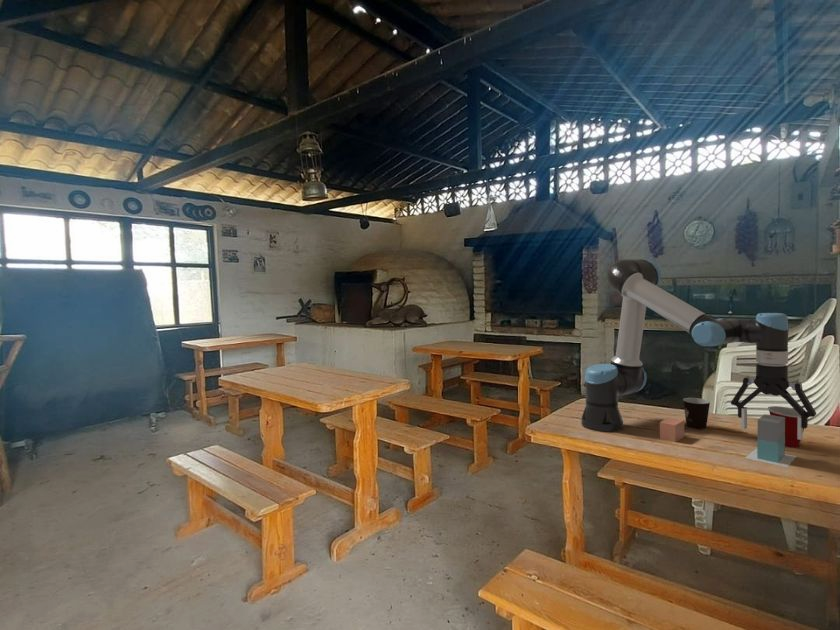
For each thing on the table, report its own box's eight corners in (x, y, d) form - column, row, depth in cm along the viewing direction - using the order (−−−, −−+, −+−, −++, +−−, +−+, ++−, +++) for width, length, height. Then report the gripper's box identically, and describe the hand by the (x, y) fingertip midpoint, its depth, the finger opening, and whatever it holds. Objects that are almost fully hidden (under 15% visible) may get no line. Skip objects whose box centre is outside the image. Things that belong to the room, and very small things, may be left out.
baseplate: (745, 459, 135) (745, 457, 135) (756, 449, 142) (756, 447, 142) (786, 469, 127) (786, 467, 127) (796, 458, 135) (796, 456, 134)
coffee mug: (710, 431, 161) (710, 404, 160) (682, 428, 165) (682, 402, 165) (709, 423, 171) (709, 397, 170) (683, 420, 175) (683, 395, 175)
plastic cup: (811, 454, 137) (812, 416, 136) (767, 447, 144) (767, 411, 143) (809, 444, 145) (809, 408, 145) (767, 438, 152) (767, 404, 152)
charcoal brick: (757, 439, 134) (757, 419, 133) (764, 432, 139) (764, 414, 138) (778, 443, 130) (778, 423, 129) (784, 436, 135) (785, 417, 134)
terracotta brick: (659, 438, 156) (659, 422, 155) (669, 433, 161) (669, 417, 160) (675, 442, 152) (675, 425, 151) (684, 436, 157) (684, 420, 156)
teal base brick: (757, 458, 134) (757, 439, 134) (764, 451, 139) (764, 432, 139) (778, 463, 130) (778, 443, 130) (784, 455, 135) (784, 436, 135)
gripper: (719, 361, 140) (719, 427, 141) (824, 370, 121) (823, 446, 122) (727, 358, 145) (727, 421, 146) (829, 367, 126) (828, 439, 127)
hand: (771, 433), depth 134 cm, fingers open, 13 cm apart
